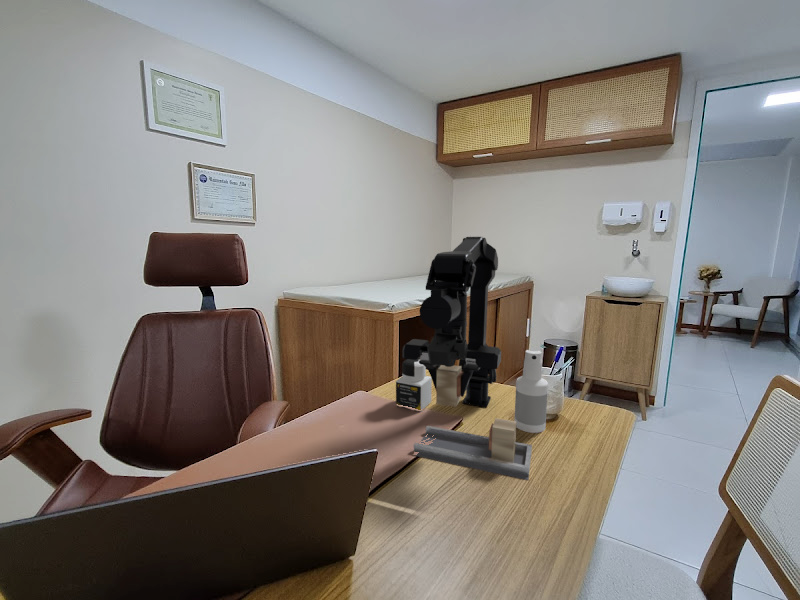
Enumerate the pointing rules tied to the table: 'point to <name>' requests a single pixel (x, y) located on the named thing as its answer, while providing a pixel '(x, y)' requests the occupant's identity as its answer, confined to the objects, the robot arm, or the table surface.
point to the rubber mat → (470, 449)
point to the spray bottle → (531, 395)
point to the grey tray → (474, 458)
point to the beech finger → (449, 385)
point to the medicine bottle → (413, 385)
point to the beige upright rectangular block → (502, 440)
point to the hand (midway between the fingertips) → (450, 394)
